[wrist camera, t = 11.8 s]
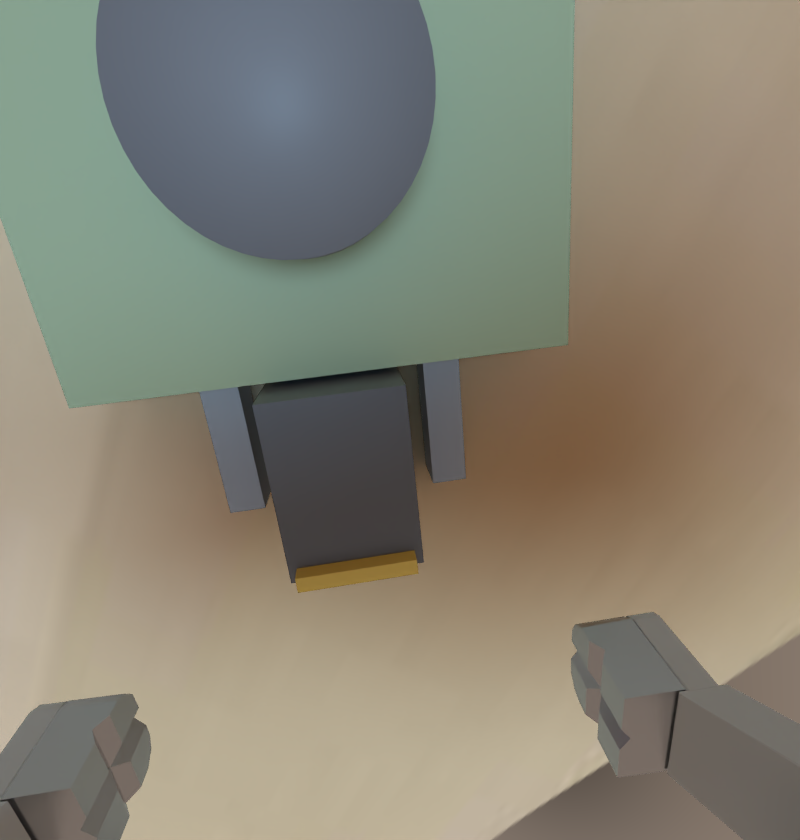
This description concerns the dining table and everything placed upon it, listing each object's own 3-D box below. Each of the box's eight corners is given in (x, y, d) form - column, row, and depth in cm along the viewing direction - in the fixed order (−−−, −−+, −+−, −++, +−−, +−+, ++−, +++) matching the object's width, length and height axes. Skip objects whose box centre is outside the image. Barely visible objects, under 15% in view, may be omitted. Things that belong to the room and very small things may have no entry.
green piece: (524, -66, 17) (643, -278, 10) (529, 449, 23) (602, 525, 17) (-10, -34, 15) (-277, -254, 9) (159, 503, 22) (81, 607, 15)
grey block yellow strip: (388, 351, 21) (408, 390, 15) (404, 489, 23) (426, 571, 17) (276, 365, 21) (248, 410, 14) (303, 503, 23) (289, 594, 17)
